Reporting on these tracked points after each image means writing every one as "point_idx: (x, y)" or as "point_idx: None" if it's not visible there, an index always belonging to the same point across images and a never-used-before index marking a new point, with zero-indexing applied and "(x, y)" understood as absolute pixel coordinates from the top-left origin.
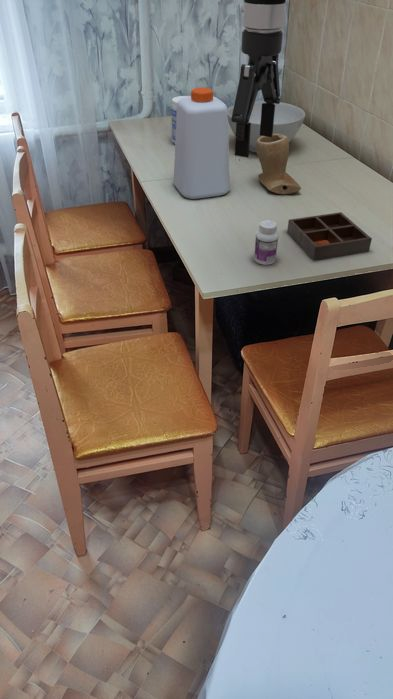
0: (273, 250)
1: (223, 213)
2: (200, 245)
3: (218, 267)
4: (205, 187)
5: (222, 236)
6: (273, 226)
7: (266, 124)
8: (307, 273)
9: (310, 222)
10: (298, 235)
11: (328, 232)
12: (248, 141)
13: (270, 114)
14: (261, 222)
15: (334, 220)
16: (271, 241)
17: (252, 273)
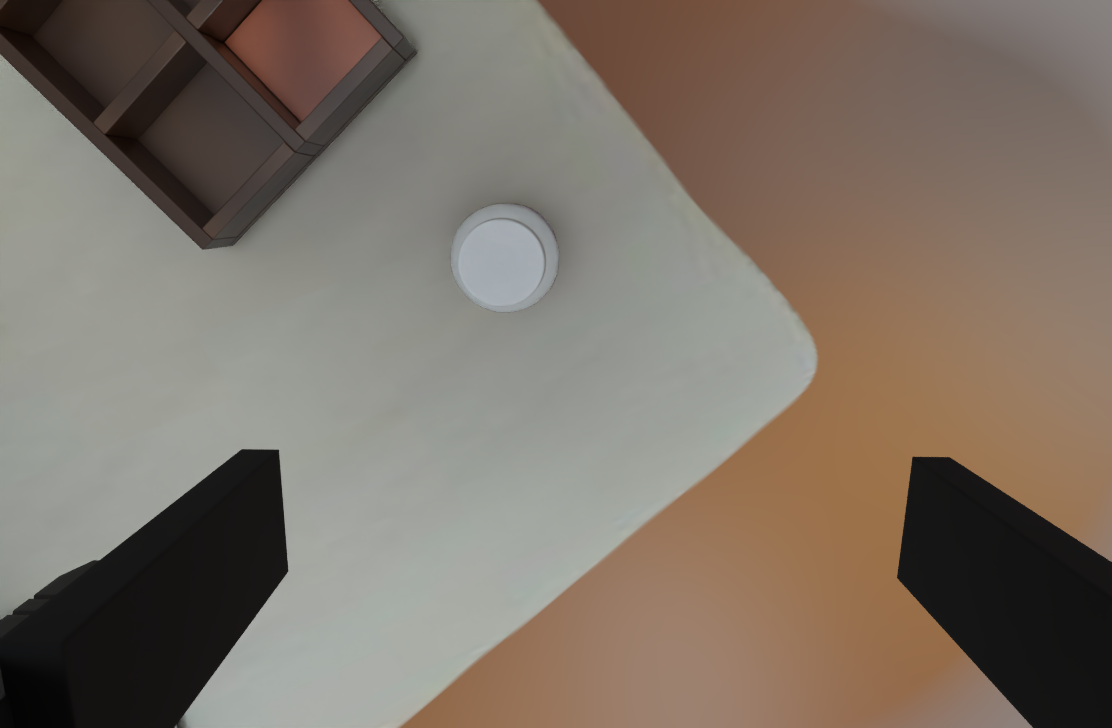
0: (532, 210)
1: None
2: (521, 525)
3: (648, 395)
4: None
5: (411, 479)
6: (513, 230)
7: (228, 570)
8: (534, 43)
9: (136, 154)
10: (292, 166)
11: (206, 29)
12: (1047, 525)
13: (155, 601)
14: (500, 301)
15: (35, 50)
16: (544, 221)
17: (634, 258)
